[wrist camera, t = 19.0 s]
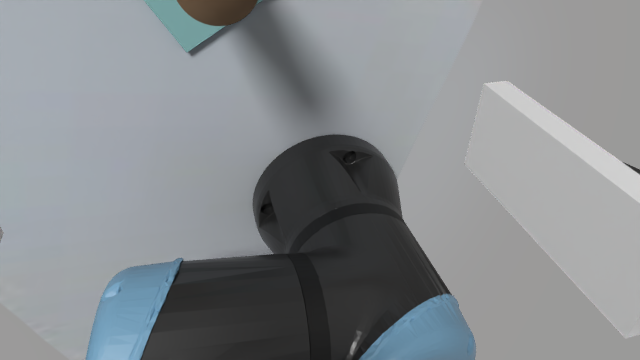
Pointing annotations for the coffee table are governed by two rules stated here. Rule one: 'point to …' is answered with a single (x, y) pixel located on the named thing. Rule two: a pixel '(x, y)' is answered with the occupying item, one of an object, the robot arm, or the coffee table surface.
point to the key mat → (182, 23)
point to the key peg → (217, 10)
